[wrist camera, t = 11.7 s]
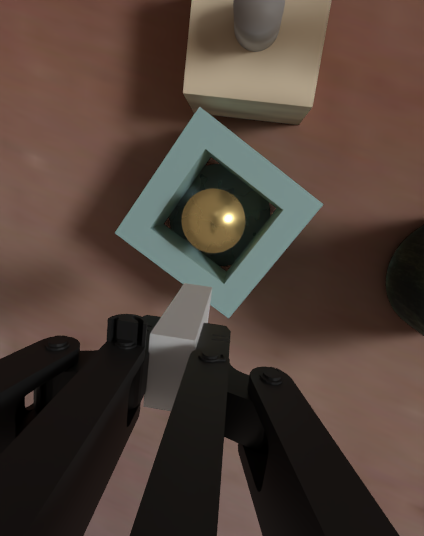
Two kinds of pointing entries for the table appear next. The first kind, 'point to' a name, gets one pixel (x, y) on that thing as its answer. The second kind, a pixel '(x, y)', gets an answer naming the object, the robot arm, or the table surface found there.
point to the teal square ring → (176, 185)
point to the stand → (255, 57)
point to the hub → (219, 214)
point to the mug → (408, 280)
